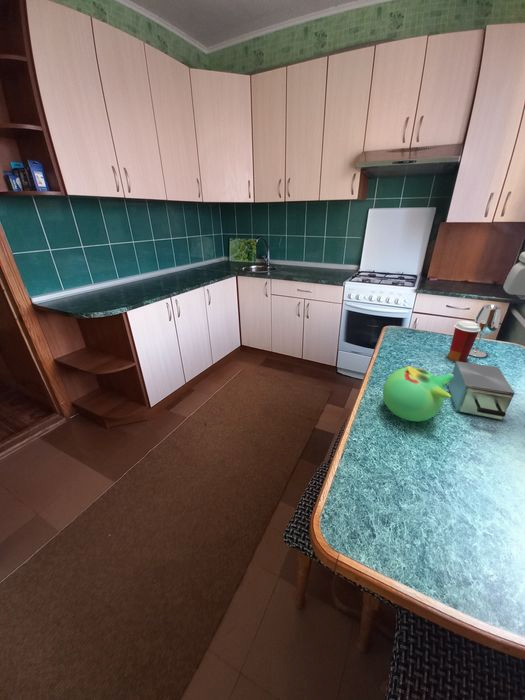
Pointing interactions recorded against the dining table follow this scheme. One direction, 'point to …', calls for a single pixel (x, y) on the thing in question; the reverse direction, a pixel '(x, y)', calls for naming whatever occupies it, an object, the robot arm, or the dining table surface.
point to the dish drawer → (485, 403)
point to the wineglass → (486, 325)
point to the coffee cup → (463, 340)
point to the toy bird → (415, 393)
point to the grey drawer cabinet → (476, 381)
